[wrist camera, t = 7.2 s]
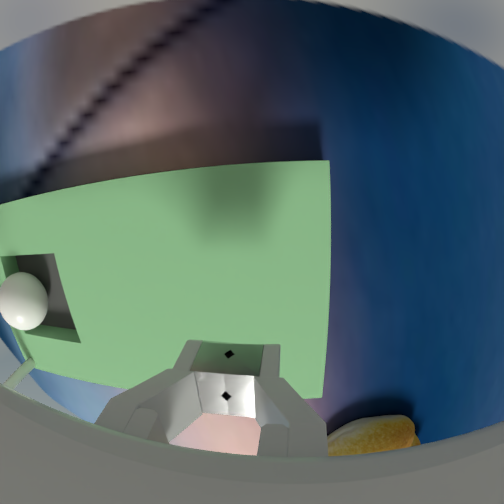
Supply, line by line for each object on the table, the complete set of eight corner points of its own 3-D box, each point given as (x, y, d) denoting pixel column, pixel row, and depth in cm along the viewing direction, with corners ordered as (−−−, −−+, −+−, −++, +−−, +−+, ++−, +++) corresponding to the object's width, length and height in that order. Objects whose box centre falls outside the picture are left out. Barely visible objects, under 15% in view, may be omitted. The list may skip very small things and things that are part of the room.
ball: (42, 272, 14) (-11, 291, 11) (60, 328, 15) (11, 347, 12) (35, 260, 16) (-9, 275, 14) (50, 308, 17) (8, 324, 15)
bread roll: (400, 392, 17) (418, 435, 13) (420, 445, 19) (432, 479, 15) (292, 437, 18) (293, 481, 15) (335, 479, 20) (338, 514, 17)
